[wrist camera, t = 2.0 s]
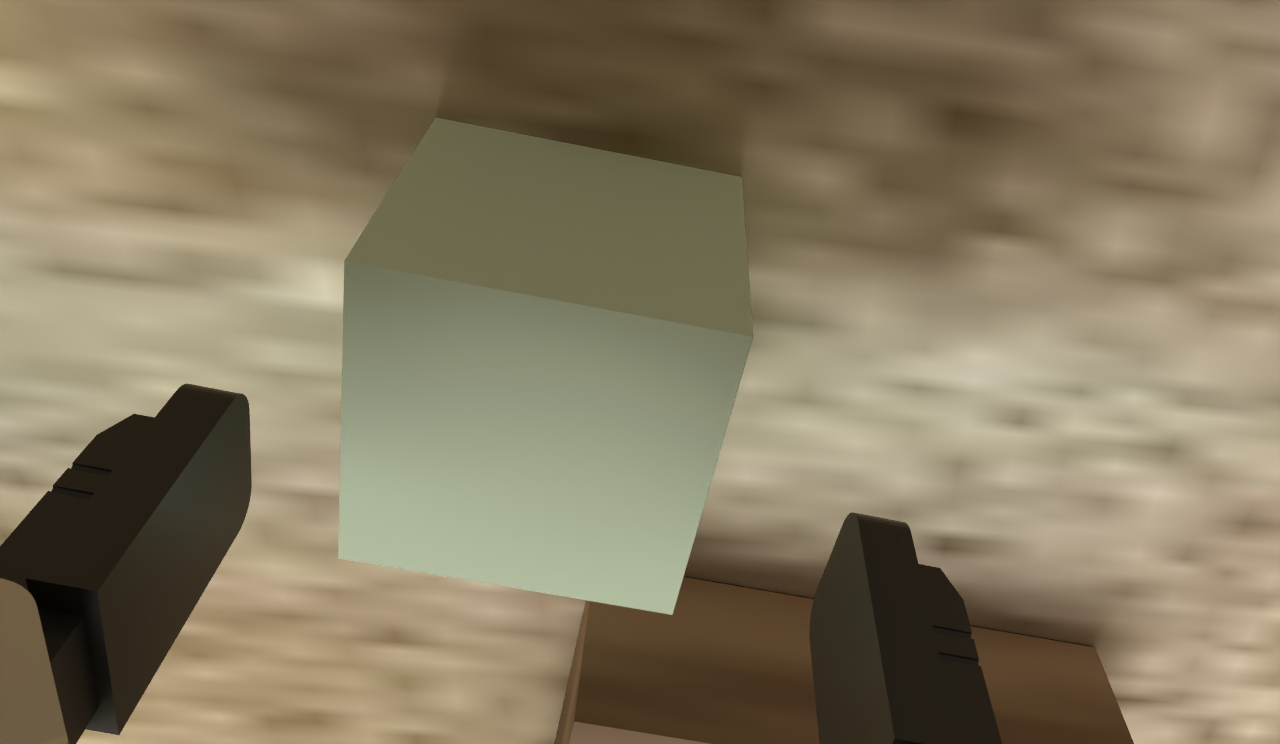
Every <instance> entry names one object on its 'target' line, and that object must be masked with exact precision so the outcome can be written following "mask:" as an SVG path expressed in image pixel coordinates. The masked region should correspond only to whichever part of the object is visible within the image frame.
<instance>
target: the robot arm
mask: <svg viewBox="0 0 1280 744" xmlns="http://www.w3.org/2000/svg"><path fill="white" fill-rule="evenodd" d="M250 495H251V448H250V415H249V403H248V400H247V397H246V396H245V395H243V394H239V393H233V392H228V391H223V390H218V389H213V388H207V387H202V386H197V385H192V384H184V385H182V386H181V387H180V388H179V389H178V390H177V391H176V392H175V393H174V394H173V396H172V397H171V398H170V399H169V401H168V402H167V403H166V404H165V406H164V407H163V408H162V409H161V411H160V412H159V413H158V414H157V416H156V417H155V418H153V417H148V416H143V415H137V414H133V415H131V416H129V417H128V418H126V419H124V420H122V421H121V422H119V423H117V424H115V425H114V426H112V427H110V428H108V429H106V430H105V431H103V432H101V433H99V434H98V435H96V436H95V438H94V439H93V440H92V441H91V442H90V443H89V445H88V446H87V447H86V448H85V449H84V450H83V451H82V453H81V454H80V455H79V456H78V457H77V458H76V460H75V461H74V462H73V466H72V468H71V469H70V468H68V469H67V470H66V471H65V472H64V473H63V475H62V476H61V477H60V478H59V479H58V480H57V481H56V483H55V484H54V485H53V489H52V491H51V492H50V491H48V492H47V493H46V494H45V495H44V496H43V498H42V499H41V500H40V501H39V502H38V503H37V505H36V506H35V507H34V508H33V509H32V510H31V511H30V513H29V514H28V515H27V516H26V517H25V518H24V520H23V521H22V522H21V523H20V524H19V525H18V526H17V528H16V529H15V530H14V531H13V532H12V533H11V535H10V536H9V537H8V538H7V539H6V540H5V541H4V543H3V544H2V545H1V546H0V744H76V743H77V741H78V740H79V738H80V736H81V735H82V733H83V732H84V730H85V729H88V730H93V731H99V732H105V733H111V734H116V735H119V734H120V732H121V731H122V729H123V727H124V726H125V724H126V722H127V721H128V719H129V717H130V715H131V714H132V712H133V710H134V709H135V707H136V705H137V704H138V702H139V700H140V699H141V697H142V695H143V693H144V692H145V690H146V688H147V687H148V685H149V683H150V682H151V680H152V678H153V677H154V675H155V673H156V671H157V670H158V668H159V666H160V665H161V663H162V661H163V660H164V658H165V656H166V654H167V653H168V651H169V649H170V648H171V646H172V644H173V643H174V641H175V639H176V638H177V636H178V634H179V632H180V631H181V629H182V627H183V626H184V624H185V622H186V621H187V619H188V617H189V616H190V614H191V612H192V610H193V609H194V607H195V605H196V604H197V602H198V600H199V599H200V597H201V595H202V593H203V592H204V590H205V588H206V587H207V585H208V583H209V582H210V580H211V578H212V577H213V575H214V573H215V571H216V570H217V568H218V566H219V565H220V563H221V561H222V560H223V558H224V556H225V555H226V553H227V551H228V549H229V548H230V546H231V544H232V543H233V541H234V539H235V538H236V536H237V534H238V532H239V531H240V529H241V526H242V524H243V522H244V519H245V516H246V513H247V510H248V506H249V501H250ZM971 634H972V631H971V627H970V624H969V620H968V616H967V612H966V609H965V605H964V601H963V599H962V598H961V596H960V595H959V594H958V592H957V591H956V589H955V588H954V587H953V585H952V584H951V583H950V581H949V580H948V578H947V577H946V576H945V574H944V573H943V572H942V570H941V569H940V568H936V567H931V566H926V565H921V564H918V561H917V556H916V552H915V548H914V543H913V539H912V535H911V531H910V528H909V526H908V525H907V523H905V522H900V521H895V520H889V519H884V518H879V517H874V516H868V515H863V514H858V513H850V514H849V515H848V516H847V517H846V519H845V521H844V523H843V525H842V528H841V530H840V533H839V535H838V538H837V540H836V543H835V545H834V548H833V551H832V553H831V556H830V558H829V561H828V563H827V566H826V568H825V571H824V573H823V576H822V578H821V581H820V583H819V586H818V588H817V591H816V594H815V597H814V601H813V605H812V610H811V617H810V630H809V637H810V649H811V659H812V670H813V681H814V691H815V702H816V712H817V723H818V733H819V744H1002V741H1001V737H1000V734H999V730H998V726H997V723H996V719H995V715H994V712H993V708H992V704H991V701H990V697H989V693H988V690H987V686H986V682H985V679H984V675H983V671H982V668H981V666H979V665H978V662H979V657H978V653H977V649H976V646H975V642H974V639H971Z"/></svg>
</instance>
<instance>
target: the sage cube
mask: <svg viewBox="0 0 1280 744" xmlns="http://www.w3.org/2000/svg"><path fill="white" fill-rule="evenodd" d="M752 340H753V326H752V312H751V298H750V285H749V271H748V257H747V243H746V229H745V215H744V202H743V188H742V177H739V176H734V175H729V174H724V173H719V172H714V171H708V170H703V169H698V168H693V167H688V166H683V165H678V164H673V163H667V162H662V161H657V160H652V159H647V158H642V157H637V156H631V155H626V154H621V153H616V152H611V151H606V150H601V149H595V148H590V147H585V146H580V145H575V144H570V143H565V142H559V141H554V140H549V139H544V138H539V137H534V136H529V135H524V134H518V133H513V132H508V131H503V130H498V129H493V128H488V127H482V126H477V125H472V124H467V123H462V122H457V121H452V120H446V119H441V118H436V117H435V119H434V121H433V122H432V124H431V125H430V127H429V128H428V130H427V132H426V133H425V135H424V136H423V138H422V139H421V141H420V143H419V144H418V146H417V147H416V149H415V151H414V152H413V154H412V155H411V157H410V158H409V160H408V162H407V163H406V165H405V166H404V168H403V169H402V171H401V173H400V174H399V176H398V177H397V179H396V180H395V182H394V184H393V185H392V187H391V188H390V190H389V192H388V193H387V195H386V196H385V198H384V199H383V201H382V203H381V204H380V206H379V207H378V209H377V210H376V212H375V214H374V215H373V217H372V218H371V220H370V221H369V223H368V225H367V226H366V228H365V229H364V231H363V233H362V234H361V236H360V237H359V239H358V240H357V242H356V244H355V245H354V247H353V248H352V250H351V251H350V253H349V255H348V256H347V258H346V259H345V262H344V308H343V355H342V401H341V447H340V494H339V540H338V558H339V559H345V560H351V561H357V562H363V563H369V564H375V565H381V566H387V567H393V568H398V569H404V570H410V571H416V572H422V573H428V574H434V575H440V576H446V577H452V578H457V579H463V580H469V581H475V582H481V583H487V584H493V585H499V586H505V587H511V588H517V589H522V590H528V591H534V592H540V593H546V594H552V595H558V596H564V597H570V598H576V599H581V600H587V601H593V602H599V603H605V604H611V605H617V606H623V607H629V608H635V609H640V610H646V611H652V612H658V613H664V614H670V615H672V614H673V611H674V607H675V604H676V601H677V597H678V594H679V590H680V587H681V583H682V580H683V577H684V573H685V570H686V566H687V563H688V559H689V556H690V553H691V549H692V546H693V542H694V539H695V535H696V532H697V528H698V525H699V522H700V518H701V515H702V511H703V508H704V504H705V501H706V498H707V494H708V491H709V487H710V484H711V480H712V477H713V474H714V470H715V467H716V463H717V460H718V456H719V453H720V449H721V446H722V443H723V439H724V436H725V432H726V429H727V425H728V422H729V419H730V415H731V412H732V408H733V405H734V401H735V398H736V395H737V391H738V388H739V384H740V381H741V377H742V374H743V370H744V367H745V364H746V360H747V357H748V353H749V350H750V346H751V343H752Z"/></svg>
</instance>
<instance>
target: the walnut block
mask: <svg viewBox="0 0 1280 744" xmlns="http://www.w3.org/2000/svg"><path fill="white" fill-rule="evenodd" d="M813 601H814V599H809V598H803V597H798V596H792V595H786V594H780V593H774V592H768V591H763V590H757V589H751V588H745V587H739V586H733V585H728V584H722V583H716V582H710V581H704V580H698V579H693V578H687V577H683V580H682V583H681V587H680V590H679V594H678V597H677V601H676V604H675V607H674V611H673V614H672V615H670V614H664V613H658V612H652V611H646V610H640V609H635V608H629V607H623V606H617V605H611V604H605V603H599V602H593V601H587V600H586V603H585V607H584V612H583V617H582V621H581V626H580V630H579V635H578V639H577V644H576V648H575V653H574V658H573V662H572V667H571V671H570V676H569V680H568V685H567V689H566V694H565V699H564V703H563V708H562V712H561V717H560V721H559V726H558V731H557V735H556V740H555V744H819V733H818V723H817V712H816V702H815V691H814V681H813V670H812V659H811V649H810V637H809V630H810V617H811V610H812V605H813ZM970 627H971V631H972V634H971V639H974V642H975V646H976V649H977V653H978V657H979V662H978V665H979V666H981V668H982V671H983V675H984V679H985V682H986V686H987V690H988V693H989V697H990V701H991V704H992V708H993V712H994V715H995V719H996V723H997V726H998V730H999V734H1000V737H1001V741H1002V744H1134V743H1133V740H1132V738H1131V735H1130V733H1129V730H1128V728H1127V725H1126V723H1125V720H1124V718H1123V716H1122V713H1121V711H1120V708H1119V706H1118V703H1117V701H1116V698H1115V696H1114V693H1113V691H1112V688H1111V686H1110V684H1109V681H1108V679H1107V676H1106V674H1105V671H1104V669H1103V666H1102V664H1101V661H1100V659H1099V656H1098V654H1097V652H1096V649H1095V647H1089V646H1083V645H1078V644H1072V643H1066V642H1060V641H1054V640H1048V639H1043V638H1037V637H1031V636H1025V635H1019V634H1013V633H1008V632H1002V631H996V630H990V629H984V628H978V627H973V626H970Z"/></svg>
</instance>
